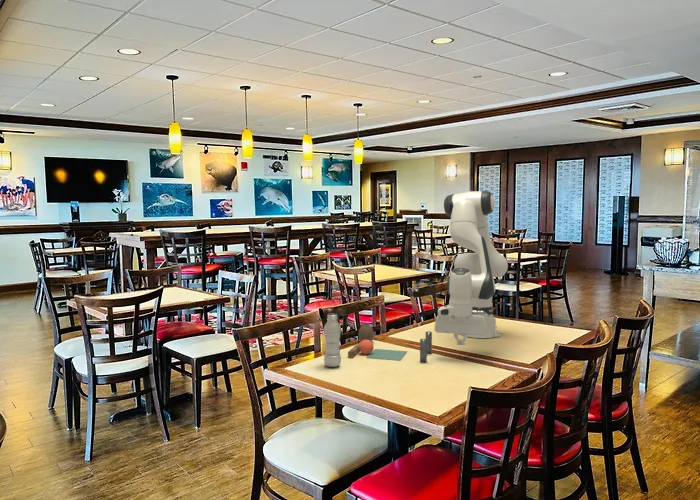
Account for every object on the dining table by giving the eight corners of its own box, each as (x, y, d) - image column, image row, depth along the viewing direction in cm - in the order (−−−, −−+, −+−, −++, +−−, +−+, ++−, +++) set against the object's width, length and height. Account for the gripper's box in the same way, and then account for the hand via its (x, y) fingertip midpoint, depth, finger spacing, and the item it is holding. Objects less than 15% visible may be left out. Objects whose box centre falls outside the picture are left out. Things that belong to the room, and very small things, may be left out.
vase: (372, 344, 231) (372, 324, 230) (357, 343, 232) (357, 324, 232) (374, 340, 238) (374, 321, 237) (360, 340, 239) (359, 321, 238)
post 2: (425, 352, 217) (426, 331, 216) (432, 353, 216) (432, 331, 215) (424, 354, 214) (425, 332, 214) (431, 354, 213) (431, 333, 213)
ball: (366, 353, 219) (359, 340, 219) (378, 348, 216) (371, 335, 216) (361, 358, 213) (354, 345, 213) (373, 353, 211) (366, 340, 211)
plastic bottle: (332, 363, 202) (332, 312, 201) (344, 366, 197) (344, 314, 196) (320, 366, 198) (319, 314, 196) (332, 370, 193) (331, 316, 192)
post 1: (420, 361, 204) (420, 338, 204) (427, 361, 203) (427, 338, 203) (419, 362, 202) (419, 340, 201) (426, 363, 201) (426, 340, 200)
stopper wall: (360, 346, 226) (360, 341, 226) (365, 347, 226) (364, 341, 226) (348, 357, 209) (347, 351, 209) (352, 358, 209) (352, 352, 209)
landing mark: (374, 349, 222) (374, 348, 222) (407, 351, 218) (407, 351, 218) (366, 357, 209) (366, 357, 209) (400, 360, 205) (400, 360, 205)
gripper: (488, 309, 204) (488, 344, 205) (435, 307, 210) (436, 341, 211) (487, 312, 198) (487, 348, 199) (433, 310, 204) (434, 345, 205)
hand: (460, 344), depth 205 cm, fingers closed
